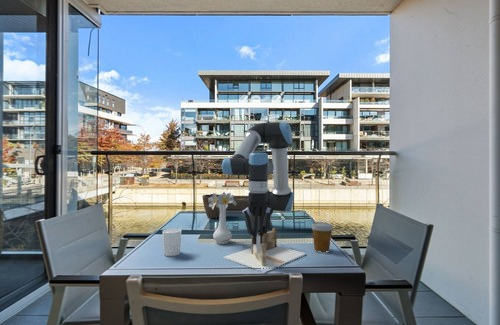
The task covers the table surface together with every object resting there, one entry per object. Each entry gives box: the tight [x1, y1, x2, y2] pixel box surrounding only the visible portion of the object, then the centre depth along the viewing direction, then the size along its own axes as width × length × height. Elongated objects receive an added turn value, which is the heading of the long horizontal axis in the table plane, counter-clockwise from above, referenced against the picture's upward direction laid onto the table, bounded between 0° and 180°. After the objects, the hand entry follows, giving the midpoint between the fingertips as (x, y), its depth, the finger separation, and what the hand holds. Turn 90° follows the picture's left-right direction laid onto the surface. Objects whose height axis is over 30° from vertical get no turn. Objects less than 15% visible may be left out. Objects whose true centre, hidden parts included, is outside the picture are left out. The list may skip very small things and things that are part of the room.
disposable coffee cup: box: [310, 221, 334, 252], centre depth 123 cm, size 10×10×12 cm
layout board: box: [223, 245, 307, 269], centre depth 115 cm, size 28×22×1 cm
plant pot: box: [201, 193, 220, 219], centre depth 195 cm, size 15×15×16 cm
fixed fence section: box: [251, 227, 278, 254], centre depth 122 cm, size 16×2×8 cm, turn 137°
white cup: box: [162, 228, 182, 257], centre depth 117 cm, size 8×8×10 cm
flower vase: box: [208, 191, 237, 245], centre depth 135 cm, size 13×18×25 cm
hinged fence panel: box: [253, 243, 266, 265], centre depth 109 cm, size 13×2×7 cm, turn 15°
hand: (256, 252), depth 107 cm, fingers closed
